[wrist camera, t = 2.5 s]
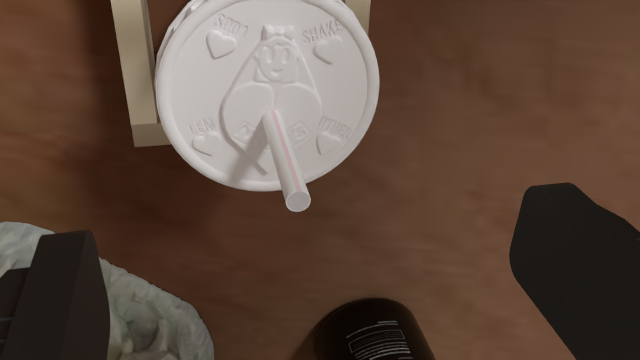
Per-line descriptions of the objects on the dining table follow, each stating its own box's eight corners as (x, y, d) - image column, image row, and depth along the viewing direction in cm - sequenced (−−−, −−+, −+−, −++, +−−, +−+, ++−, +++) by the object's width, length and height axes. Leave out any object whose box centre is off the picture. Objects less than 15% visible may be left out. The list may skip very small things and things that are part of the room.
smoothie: (163, 75, 25) (151, 299, 13) (158, -86, 21) (136, 24, 10) (307, 79, 26) (410, 283, 15) (323, -70, 23) (473, 40, 11)
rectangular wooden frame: (101, -125, 20) (91, -118, 18) (356, -121, 22) (379, -113, 20) (138, 115, 25) (134, 147, 23) (343, 102, 27) (360, 130, 25)
